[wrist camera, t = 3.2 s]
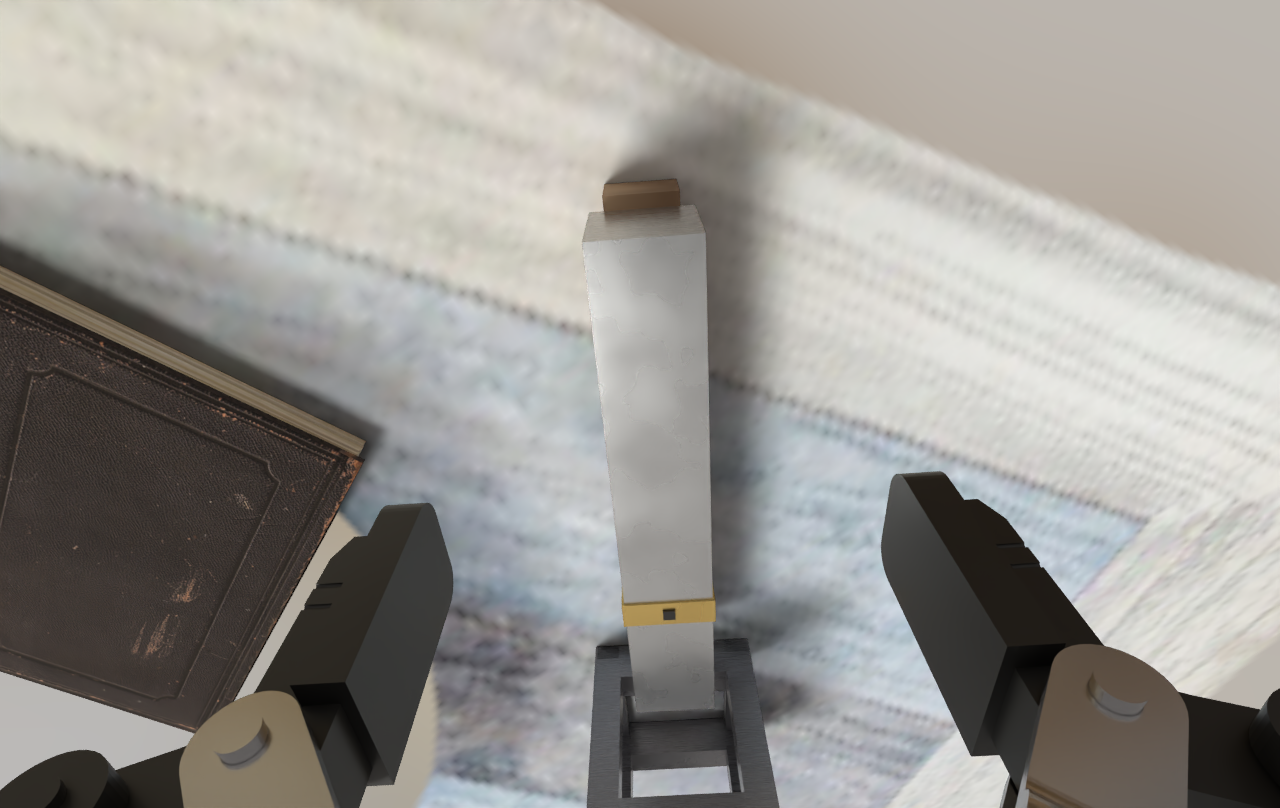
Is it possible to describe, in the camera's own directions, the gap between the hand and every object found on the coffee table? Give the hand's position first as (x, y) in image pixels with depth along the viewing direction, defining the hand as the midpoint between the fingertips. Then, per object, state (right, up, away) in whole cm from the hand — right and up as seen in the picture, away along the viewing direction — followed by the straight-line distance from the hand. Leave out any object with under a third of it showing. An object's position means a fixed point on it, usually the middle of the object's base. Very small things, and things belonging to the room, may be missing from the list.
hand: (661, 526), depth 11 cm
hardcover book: (-25, -4, +20) cm, 33 cm away
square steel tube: (0, -1, +16) cm, 16 cm away
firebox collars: (+2, -15, +26) cm, 30 cm away
